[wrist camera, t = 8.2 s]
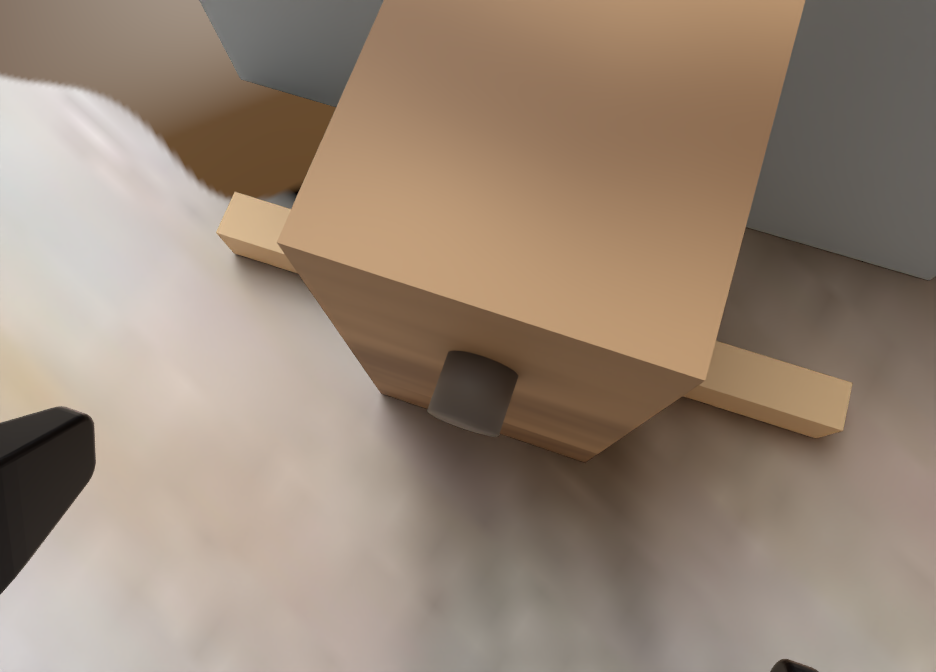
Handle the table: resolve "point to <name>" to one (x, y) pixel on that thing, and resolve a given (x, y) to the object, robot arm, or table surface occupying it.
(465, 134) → the cabinet
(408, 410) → the table surface
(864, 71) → the wall board
